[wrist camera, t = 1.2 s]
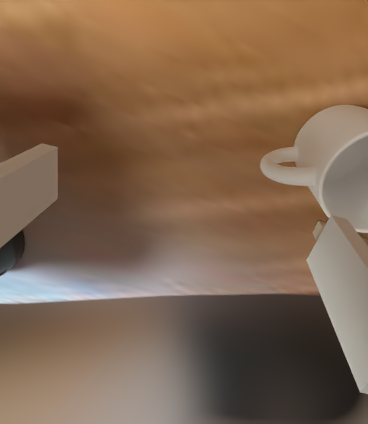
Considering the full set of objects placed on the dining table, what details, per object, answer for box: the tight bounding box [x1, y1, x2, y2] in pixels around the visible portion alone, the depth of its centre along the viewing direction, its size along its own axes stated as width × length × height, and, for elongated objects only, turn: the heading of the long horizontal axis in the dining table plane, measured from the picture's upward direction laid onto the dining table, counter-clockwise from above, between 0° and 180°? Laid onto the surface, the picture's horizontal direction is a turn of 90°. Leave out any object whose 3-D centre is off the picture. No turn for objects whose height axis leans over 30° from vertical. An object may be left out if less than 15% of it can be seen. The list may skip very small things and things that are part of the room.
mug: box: [260, 105, 368, 233], centre depth 25 cm, size 12×8×10 cm
